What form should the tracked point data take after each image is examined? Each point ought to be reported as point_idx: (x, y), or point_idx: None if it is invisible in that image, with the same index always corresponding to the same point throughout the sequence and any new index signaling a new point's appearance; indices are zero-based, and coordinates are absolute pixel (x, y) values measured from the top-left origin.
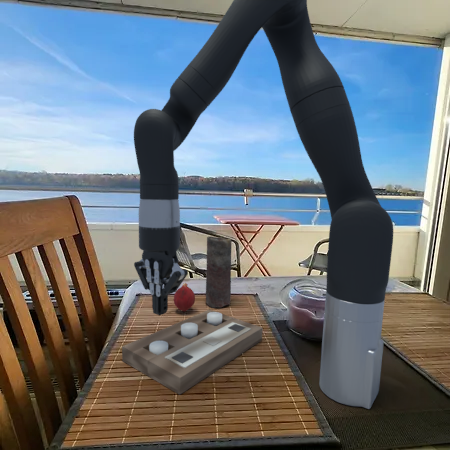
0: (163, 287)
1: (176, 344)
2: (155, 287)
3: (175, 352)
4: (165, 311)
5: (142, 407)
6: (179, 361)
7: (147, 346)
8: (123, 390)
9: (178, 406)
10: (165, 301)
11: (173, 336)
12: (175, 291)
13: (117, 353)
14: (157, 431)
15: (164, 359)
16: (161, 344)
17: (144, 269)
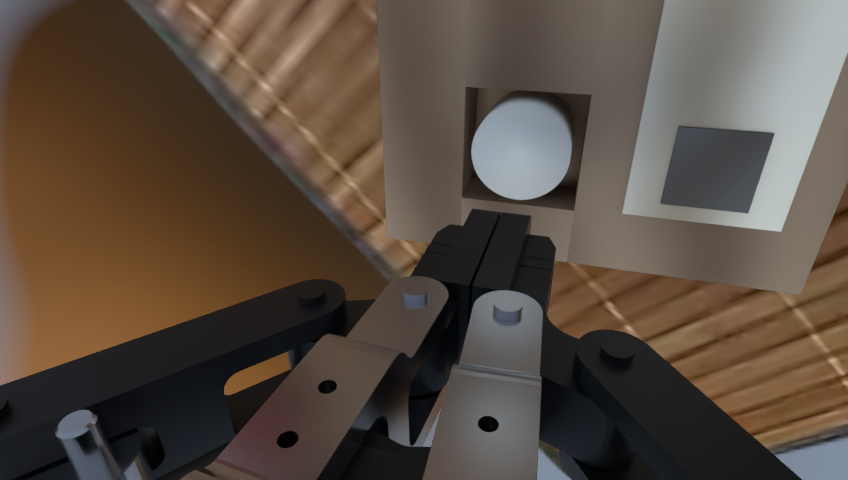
0: (440, 313)
1: (582, 69)
2: (432, 413)
3: (643, 150)
4: (529, 226)
5: (685, 354)
6: (724, 211)
7: (463, 167)
8: (562, 323)
9: (810, 303)
10: (546, 307)
11: (497, 1)
12: (648, 351)
13: (346, 181)
14: (806, 406)
15: (630, 220)
16: (526, 142)
17: (155, 477)
